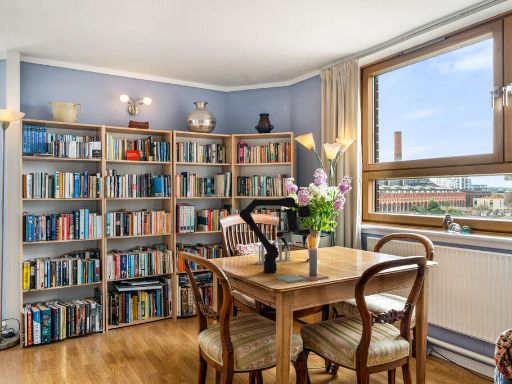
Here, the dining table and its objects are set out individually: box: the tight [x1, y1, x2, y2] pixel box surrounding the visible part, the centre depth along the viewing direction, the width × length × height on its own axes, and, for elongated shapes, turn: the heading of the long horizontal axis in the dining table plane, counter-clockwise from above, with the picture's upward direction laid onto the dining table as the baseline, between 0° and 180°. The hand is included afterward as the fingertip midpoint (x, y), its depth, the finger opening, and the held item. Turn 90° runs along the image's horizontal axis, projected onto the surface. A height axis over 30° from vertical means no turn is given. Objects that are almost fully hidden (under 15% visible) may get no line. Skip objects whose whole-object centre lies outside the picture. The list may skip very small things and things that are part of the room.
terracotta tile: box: [297, 272, 330, 282], centre depth 204 cm, size 11×11×1 cm
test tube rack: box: [255, 239, 294, 265], centre depth 247 cm, size 25×4×13 cm, turn 121°
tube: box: [308, 247, 318, 276], centre depth 204 cm, size 4×4×14 cm
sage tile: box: [275, 274, 307, 284], centre depth 199 cm, size 11×11×1 cm
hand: (296, 248), depth 216 cm, fingers open, 9 cm apart
